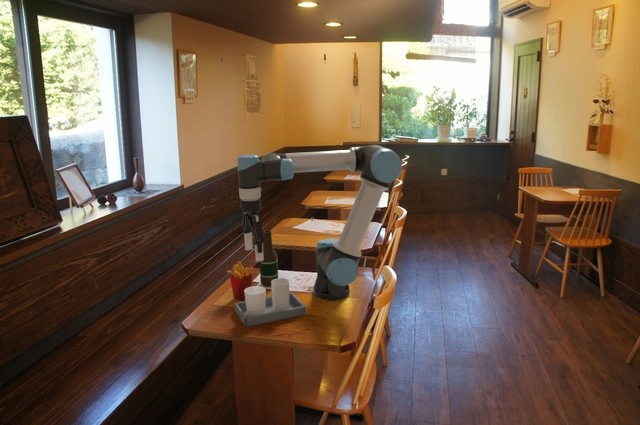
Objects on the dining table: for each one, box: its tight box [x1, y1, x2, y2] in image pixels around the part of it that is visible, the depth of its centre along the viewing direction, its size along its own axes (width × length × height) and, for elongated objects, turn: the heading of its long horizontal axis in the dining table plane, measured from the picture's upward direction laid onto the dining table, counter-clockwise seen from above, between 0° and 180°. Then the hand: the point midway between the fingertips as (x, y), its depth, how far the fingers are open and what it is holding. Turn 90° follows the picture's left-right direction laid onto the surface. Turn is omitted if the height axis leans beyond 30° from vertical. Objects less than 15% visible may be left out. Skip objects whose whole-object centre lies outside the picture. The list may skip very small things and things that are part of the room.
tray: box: [234, 292, 307, 328], centre depth 199 cm, size 24×15×4 cm, turn 114°
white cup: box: [244, 285, 267, 317], centre depth 196 cm, size 8×8×10 cm
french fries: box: [227, 261, 253, 302], centre depth 212 cm, size 9×8×15 cm
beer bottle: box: [259, 229, 279, 288], centre depth 225 cm, size 8×8×24 cm
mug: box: [270, 277, 290, 312], centre depth 200 cm, size 10×7×12 cm, turn 158°
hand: (254, 255), depth 192 cm, fingers open, 13 cm apart
